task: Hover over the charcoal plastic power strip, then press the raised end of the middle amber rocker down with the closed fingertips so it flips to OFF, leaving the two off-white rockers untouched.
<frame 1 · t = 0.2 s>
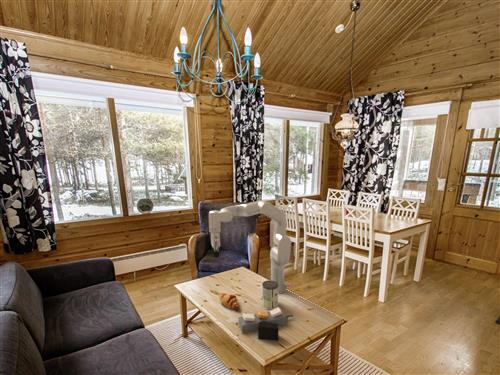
hand: (215, 254, 163), 31 cm above the table, fingers open, 9 cm apart
white rocker 2: (275, 312, 141), point 6 cm above the table, hinge at 15.0°
croissant: (229, 303, 160), on the table
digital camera: (268, 337, 129), on the table
power strip: (262, 324, 139), on the table
white rocker 1: (248, 317, 137), point 6 cm above the table, hinge at -15.0°
coffee can: (270, 305, 159), on the table
amber rocker: (262, 314, 139), point 6 cm above the table, hinge at -15.0°
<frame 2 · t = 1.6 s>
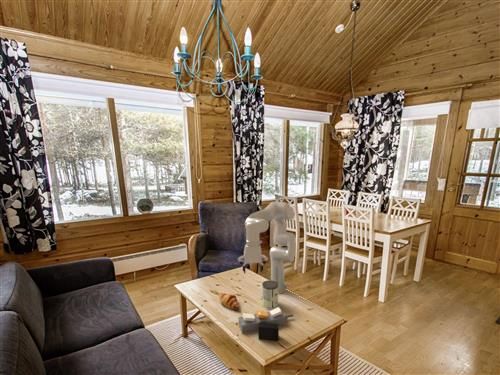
hand: (252, 272, 141), 29 cm above the table, fingers open, 9 cm apart
nothing on the table moved.
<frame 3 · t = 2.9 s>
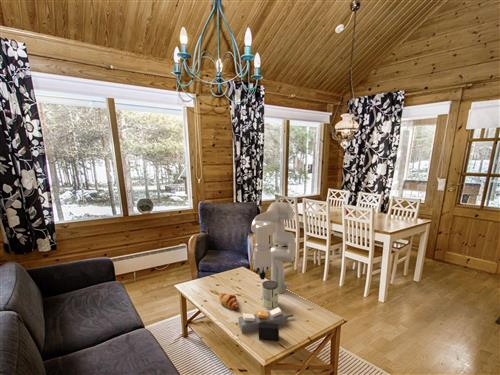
hand: (262, 278, 137), 27 cm above the table, fingers closed
nothing on the table moved.
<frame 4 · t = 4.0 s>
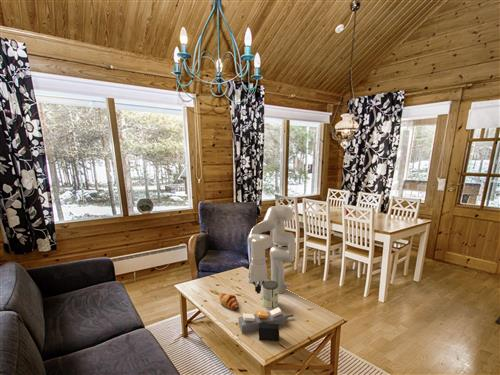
hand: (258, 292, 136), 20 cm above the table, fingers closed
nothing on the table moved.
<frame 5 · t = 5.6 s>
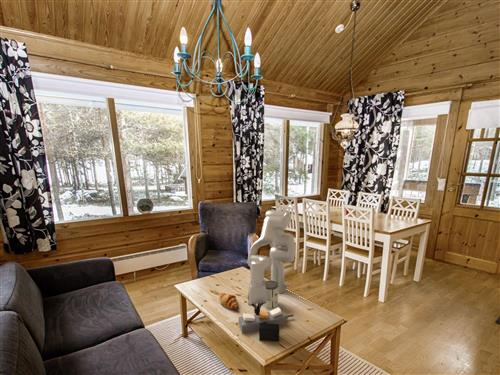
hand: (257, 314, 138), 7 cm above the table, fingers closed
amber rocker: (262, 314, 139), point 6 cm above the table, hinge at -13.1°, touching gripper
everything else where it was.
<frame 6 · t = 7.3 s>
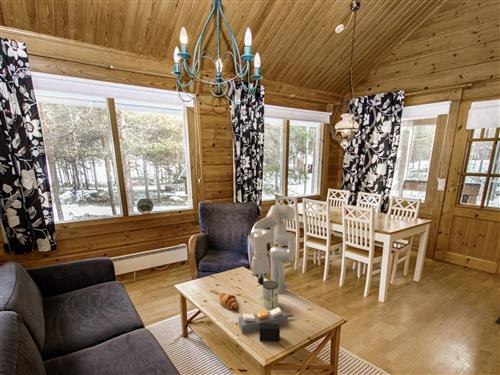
hand: (260, 283, 144), 21 cm above the table, fingers closed
amber rocker: (262, 314, 139), point 6 cm above the table, hinge at 8.9°
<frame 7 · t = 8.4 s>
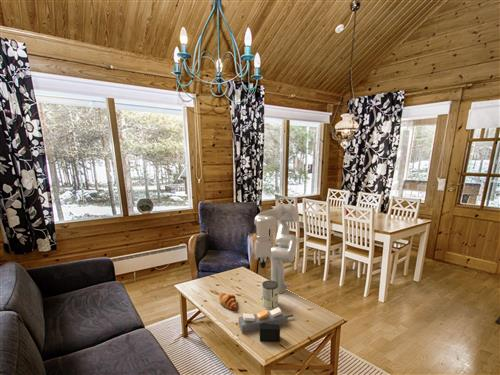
hand: (262, 267, 151), 27 cm above the table, fingers closed
amber rocker: (262, 314, 139), point 6 cm above the table, hinge at 16.7°, touching power strip
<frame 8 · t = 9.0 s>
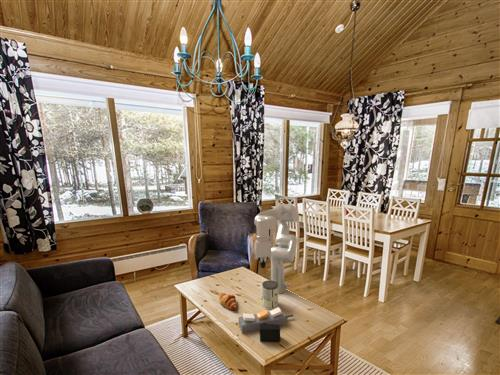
hand: (262, 267, 151), 27 cm above the table, fingers closed
amber rocker: (262, 314, 139), point 6 cm above the table, hinge at 16.1°, touching power strip
at the end: amber rocker at +16° (first picture: -15°); white rocker 2 at +15° (first picture: +15°); white rocker 1 at -15° (first picture: -15°) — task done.
